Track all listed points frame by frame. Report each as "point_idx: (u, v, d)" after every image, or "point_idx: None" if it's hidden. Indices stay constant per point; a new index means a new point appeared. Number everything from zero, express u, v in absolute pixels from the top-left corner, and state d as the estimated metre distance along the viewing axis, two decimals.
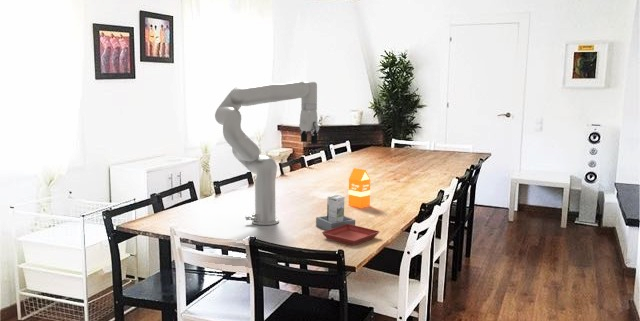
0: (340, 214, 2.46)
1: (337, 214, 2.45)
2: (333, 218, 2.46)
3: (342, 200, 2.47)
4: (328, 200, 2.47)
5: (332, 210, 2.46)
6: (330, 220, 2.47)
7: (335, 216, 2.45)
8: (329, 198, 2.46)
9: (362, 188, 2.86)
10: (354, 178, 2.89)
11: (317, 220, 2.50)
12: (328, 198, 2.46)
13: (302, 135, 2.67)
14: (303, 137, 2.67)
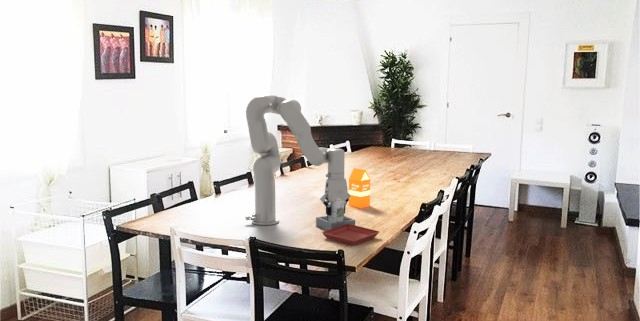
0: (340, 213, 2.46)
1: (337, 214, 2.45)
2: (333, 218, 2.46)
3: None
4: None
5: (332, 210, 2.46)
6: (330, 220, 2.47)
7: (335, 216, 2.45)
8: None
9: (362, 188, 2.86)
10: (354, 178, 2.89)
11: (317, 220, 2.50)
12: None
13: None
14: None
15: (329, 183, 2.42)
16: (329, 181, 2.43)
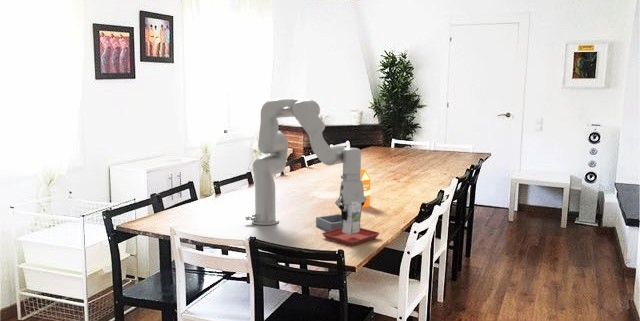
0: (356, 218, 2.29)
1: (352, 219, 2.27)
2: (348, 223, 2.28)
3: (358, 204, 2.29)
4: None
5: (347, 214, 2.28)
6: (345, 225, 2.30)
7: (350, 221, 2.27)
8: None
9: None
10: None
11: (317, 220, 2.50)
12: None
13: None
14: None
15: (344, 185, 2.25)
16: (344, 183, 2.25)
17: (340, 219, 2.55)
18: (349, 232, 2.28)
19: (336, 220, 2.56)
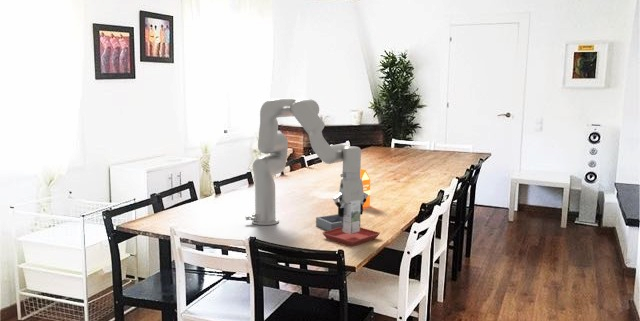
0: (355, 218, 2.28)
1: (352, 218, 2.27)
2: (348, 223, 2.28)
3: (358, 203, 2.28)
4: None
5: (346, 214, 2.28)
6: (345, 224, 2.30)
7: (350, 220, 2.27)
8: None
9: None
10: None
11: (317, 220, 2.50)
12: None
13: None
14: None
15: (344, 184, 2.25)
16: (344, 181, 2.25)
17: (340, 219, 2.55)
18: (349, 232, 2.28)
19: (336, 220, 2.56)
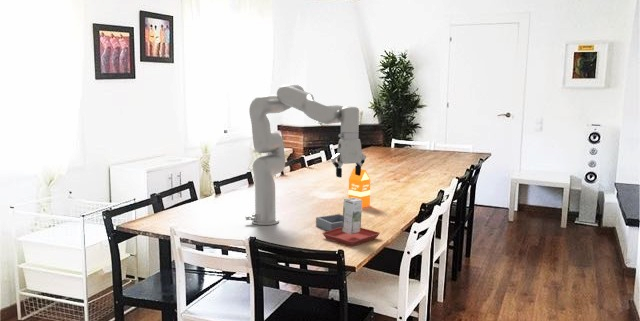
0: (356, 218, 2.28)
1: (353, 218, 2.27)
2: (349, 223, 2.28)
3: (359, 203, 2.28)
4: (344, 203, 2.29)
5: (347, 213, 2.28)
6: (345, 224, 2.30)
7: (351, 220, 2.27)
8: (345, 200, 2.29)
9: (362, 188, 2.86)
10: (354, 178, 2.89)
11: (317, 220, 2.50)
12: (344, 200, 2.29)
13: None
14: None
15: (342, 143, 2.25)
16: (342, 141, 2.25)
17: (340, 219, 2.55)
18: (349, 232, 2.28)
19: (336, 220, 2.56)
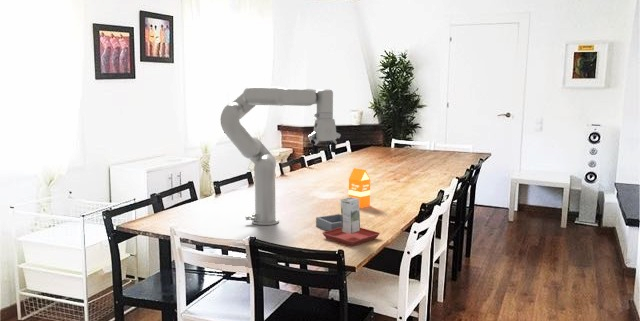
0: (355, 217, 2.28)
1: (351, 218, 2.27)
2: (348, 223, 2.28)
3: (356, 202, 2.28)
4: (341, 203, 2.29)
5: (346, 213, 2.28)
6: (345, 224, 2.30)
7: (349, 220, 2.27)
8: (342, 201, 2.29)
9: (362, 188, 2.86)
10: (354, 178, 2.89)
11: (317, 220, 2.50)
12: (341, 201, 2.29)
13: None
14: None
15: (318, 122, 2.47)
16: (318, 121, 2.47)
17: (340, 219, 2.55)
18: (349, 231, 2.28)
19: (336, 220, 2.56)
